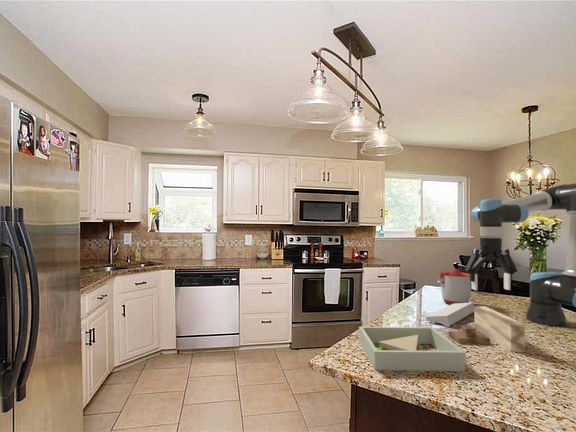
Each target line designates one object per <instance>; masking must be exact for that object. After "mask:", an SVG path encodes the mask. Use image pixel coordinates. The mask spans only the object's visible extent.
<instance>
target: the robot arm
mask: <svg viewBox="0 0 576 432" xmlns="http://www.w3.org/2000/svg"><path fill="white" fill-rule="evenodd" d="M550 210H560V211H561V210H566V214H567V215H568V216H570V218H569V229H568V239H567V240H568V242H567V251H566V252H567V253H566V264H565V266H566V267H565V270H564V271H562V272H552V271H551V272H547V271H546V272H543V271H542V272H532V273H531V274H530V276H529V304H528V307H527V309H526V312H525V319H526V320H527V321H530V322H531V323H535V324H540V325H544V326H545V325H546V326H552V327H565V326H568V325H567V321H568V320H567V318H566V315H565V311H564V309H563V307H562V304H563V305H567V306H571V307H574V308H576V183H567V184H559V185H555V186H551V187H549V188H545V189H541V190H538V191H535V192H534V193H533V194H530V195H525V196H521V197H516V198H512V199H508V200H504V201H502V199H500V198H491V199H489V198H487V199H481V201H480V202H479V206H475V207H473V209H472V210H471V214H470V215H471V218H472V220H473V221H475V222H477V223H479V236H480V238H479V246H480V249H478V248H472V253H471V255H470V257H469V260H468V262H467V264H466V266H465V267H464V272H466V273H468V274H470V281H471V290H474V291H478V273H477V272H478V271H479V269H480V268H481V267H482V266H483V264H484V263H485V262H487V261H496V262H497V263H498V264H499V265H500V267H501V268H502V269H503V270H504V273H503V289H504V290H506V291H507V290H508V291H511V282H512V281H513V275H514V274H515V273H517V272H518V269H517V266H516V265H515V263H514V261H513V259H512V256H511V255H510V249H508V248H502V245H503V239H502V238H501V237H503V227H502V226H503V223H504V224H505V223H509V224H511V223H513V224H518V223H520V224H521V223H524V222H525V221H526V220H528V218H529V215H530V214H529V213H530V212H536V211H540V212H544V211H550ZM501 255H502V256H503V257H502V256H501Z"/></svg>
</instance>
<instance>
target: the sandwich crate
mask: <svg viewBox="0 0 576 432" xmlns="http://www.w3.org/2000/svg"><path fill="white" fill-rule="evenodd" d="M413 335H418V342H419V345H421V344H426V345H427V344H429V345H431V346H432V347H433V348H434V349H436V350H421V351H404V350H377V349H376V348H377V347H376V346H375V344H379V342H380V341H385V340H391V339H396V338H402V337H408V336H413ZM358 342H359V344H360V347H361V348H362V350H363V352H364V353H365V356H366V357H367V359H368V360H369V361H368V362H370V364H371V366H372V368H373V370H374V371H410V372H411V371H413V372H414V371H416V372H417V371H419V372H423V371H424V372H426V371H429V372H466V351H465V350H463V349H462V348H460V347H459V346H457V345H456V344H455V343H453V342H452V341H451V340H450V339H448V338H447V337H446V336H444V335H443V334H442V333H440V332H439V331H438V330H437V329H436V328H434V327H433V326H431V327H429V326H423V327H422V326H358Z"/></svg>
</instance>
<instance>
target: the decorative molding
mask: <svg viewBox="0 0 576 432" xmlns="http://www.w3.org/2000/svg"><path fill="white" fill-rule="evenodd" d="M474 306H475V305H474V302H473V301H472V302H470V301H469V302H468V303H455V304H451V305H450V304H448V306H445V307H444V308H441V309H439V310H436V311H435V312H433V313H431V314H429V315H426V316H425V318H426V321H427V322H431V324H433V325H434V324H441V325H443V326H445V327H447V328H449V327H450V326H453V325H455V324H456V323H458V322H459V321H461V320H463V319H464V318H466V317H468V316H469V315H471V314H473V313H474Z"/></svg>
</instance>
